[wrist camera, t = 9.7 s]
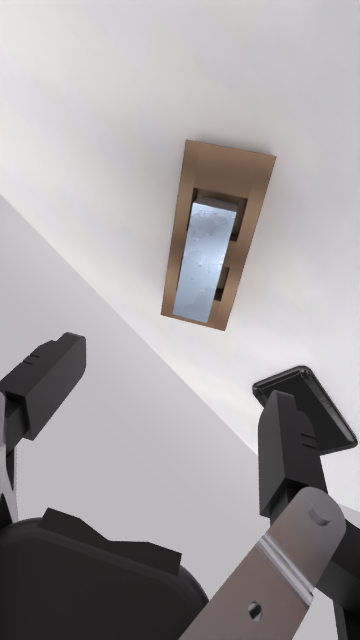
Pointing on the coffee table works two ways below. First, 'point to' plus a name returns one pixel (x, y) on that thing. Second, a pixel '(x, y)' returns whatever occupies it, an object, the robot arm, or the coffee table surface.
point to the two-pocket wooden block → (249, 191)
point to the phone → (311, 407)
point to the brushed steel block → (203, 256)
